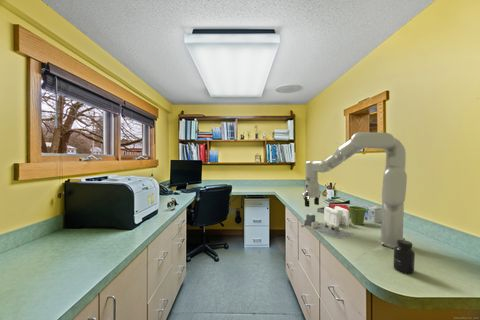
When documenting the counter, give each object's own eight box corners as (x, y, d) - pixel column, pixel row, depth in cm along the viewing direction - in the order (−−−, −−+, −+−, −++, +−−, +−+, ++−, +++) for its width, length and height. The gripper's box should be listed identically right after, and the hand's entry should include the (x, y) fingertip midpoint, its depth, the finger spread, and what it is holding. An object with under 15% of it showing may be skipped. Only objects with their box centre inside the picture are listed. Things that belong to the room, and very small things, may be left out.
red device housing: (352, 215, 166) (352, 209, 166) (333, 214, 169) (333, 208, 169) (345, 210, 184) (345, 204, 184) (328, 209, 187) (328, 203, 187)
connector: (315, 225, 137) (315, 214, 137) (311, 226, 135) (311, 215, 134) (310, 224, 140) (310, 213, 140) (306, 225, 138) (306, 213, 138)
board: (353, 236, 123) (353, 228, 123) (339, 241, 116) (339, 232, 116) (314, 223, 146) (314, 216, 146) (301, 227, 138) (301, 220, 138)
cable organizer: (350, 228, 138) (350, 210, 138) (336, 228, 136) (336, 211, 136) (336, 221, 152) (336, 205, 152) (323, 221, 151) (323, 205, 150)
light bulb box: (361, 218, 160) (362, 204, 160) (368, 218, 162) (369, 204, 162) (374, 223, 150) (375, 208, 149) (381, 222, 152) (382, 207, 151)
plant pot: (362, 221, 153) (362, 206, 153) (369, 226, 141) (370, 210, 141) (345, 220, 155) (345, 205, 155) (351, 225, 143) (351, 209, 143)
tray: (362, 213, 174) (363, 210, 174) (344, 218, 159) (344, 214, 159) (336, 207, 194) (336, 204, 194) (317, 211, 179) (317, 208, 179)
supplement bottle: (391, 270, 86) (392, 241, 86) (394, 264, 91) (395, 237, 91) (413, 277, 81) (414, 246, 81) (415, 270, 86) (416, 241, 86)
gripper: (307, 180, 129) (308, 208, 129) (324, 179, 139) (324, 205, 139) (298, 180, 135) (298, 206, 135) (315, 178, 145) (315, 203, 145)
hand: (311, 205), depth 137 cm, fingers open, 9 cm apart
